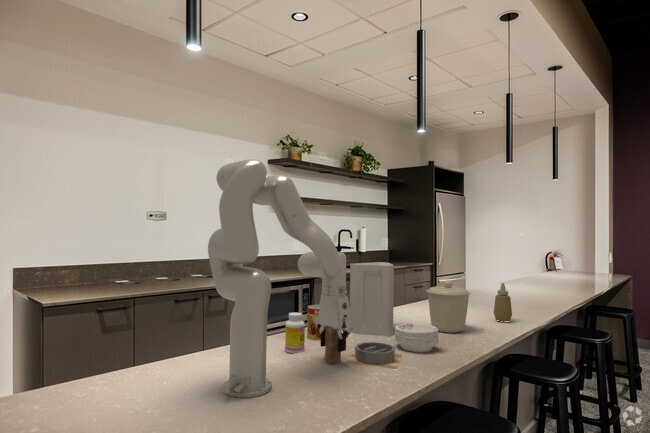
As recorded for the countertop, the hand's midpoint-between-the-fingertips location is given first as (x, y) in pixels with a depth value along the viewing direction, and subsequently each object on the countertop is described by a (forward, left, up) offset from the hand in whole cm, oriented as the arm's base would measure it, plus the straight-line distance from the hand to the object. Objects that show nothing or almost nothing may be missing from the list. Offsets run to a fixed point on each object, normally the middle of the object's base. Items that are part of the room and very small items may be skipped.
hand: (333, 347), depth 132 cm
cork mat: (+8, -12, -5) cm, 15 cm away
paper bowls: (+25, -24, -5) cm, 35 cm away
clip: (+8, -12, -4) cm, 15 cm away
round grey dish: (+8, -12, -4) cm, 15 cm away
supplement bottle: (+9, +16, -5) cm, 19 cm away
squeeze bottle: (+86, -60, -5) cm, 105 cm away
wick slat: (0, 0, -5) cm, 5 cm away
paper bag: (+46, -7, -5) cm, 47 cm away
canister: (+59, -35, -5) cm, 69 cm away
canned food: (+29, +14, -5) cm, 33 cm away
